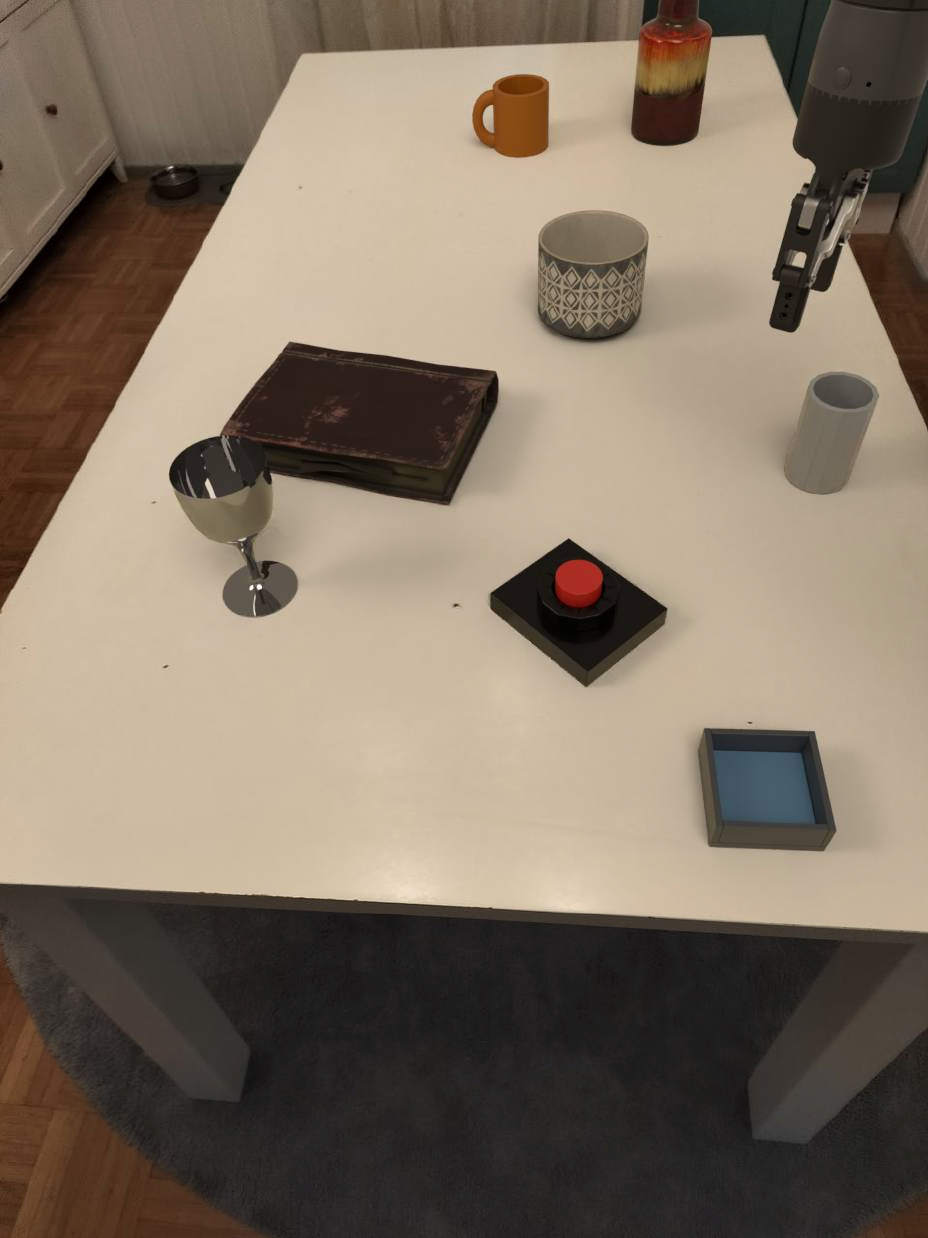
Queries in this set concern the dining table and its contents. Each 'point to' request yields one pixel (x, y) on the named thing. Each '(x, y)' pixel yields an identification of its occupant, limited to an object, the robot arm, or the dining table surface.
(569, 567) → the button
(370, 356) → the diary
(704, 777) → the tray
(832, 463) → the tumbler
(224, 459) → the wine glass
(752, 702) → the dining table surface
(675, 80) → the vase
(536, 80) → the mug
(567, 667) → the control block
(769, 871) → the dining table surface
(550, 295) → the planter
